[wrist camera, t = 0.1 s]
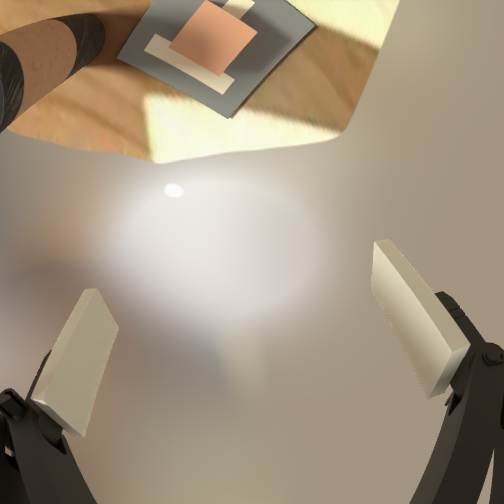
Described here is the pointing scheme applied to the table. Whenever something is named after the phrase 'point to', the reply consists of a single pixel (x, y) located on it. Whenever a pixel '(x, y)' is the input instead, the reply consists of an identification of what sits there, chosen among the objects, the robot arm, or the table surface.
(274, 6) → the letter mat
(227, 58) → the terracotta block
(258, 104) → the table surface
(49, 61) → the travel mug
